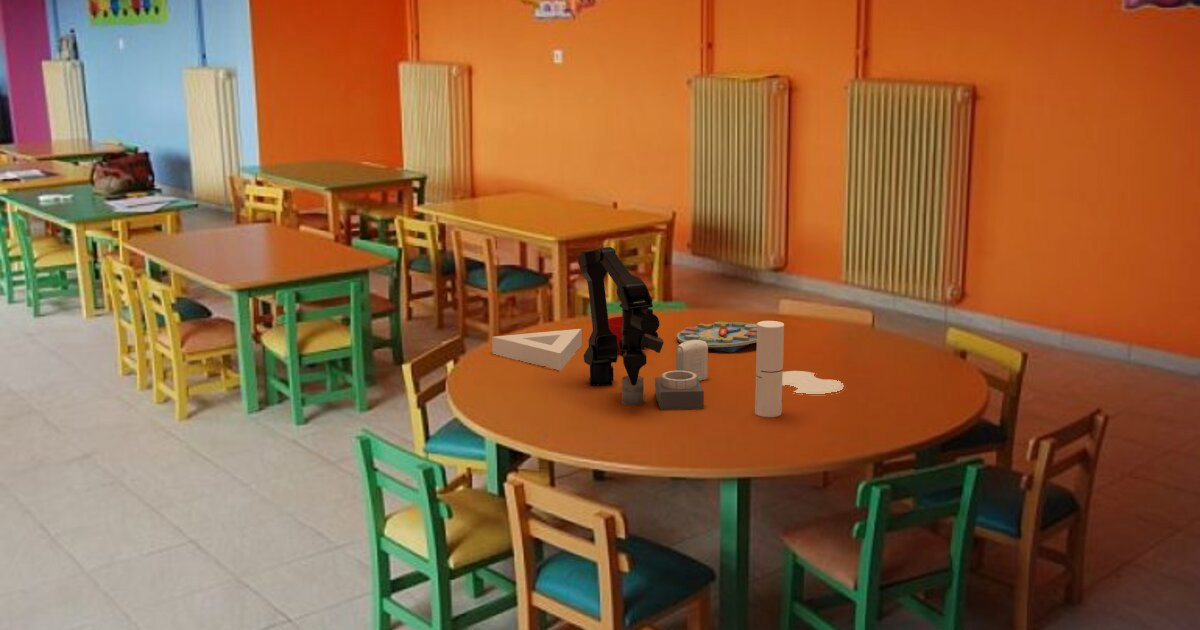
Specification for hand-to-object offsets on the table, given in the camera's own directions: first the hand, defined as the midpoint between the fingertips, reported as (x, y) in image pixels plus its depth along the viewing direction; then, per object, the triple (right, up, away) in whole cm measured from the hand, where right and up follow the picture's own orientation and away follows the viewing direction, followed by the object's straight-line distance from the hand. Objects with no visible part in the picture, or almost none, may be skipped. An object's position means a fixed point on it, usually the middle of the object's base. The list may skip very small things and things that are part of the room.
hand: (632, 380), depth 337 cm
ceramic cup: (+1, +6, +53) cm, 53 cm away
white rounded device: (+18, -1, +21) cm, 28 cm away
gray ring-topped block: (+13, -6, +2) cm, 14 cm away
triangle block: (-25, +3, +43) cm, 50 cm away
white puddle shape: (+51, -3, +18) cm, 54 cm away
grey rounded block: (0, -6, +2) cm, 7 cm away
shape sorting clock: (+32, +9, +63) cm, 71 cm away
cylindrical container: (+37, -9, -8) cm, 39 cm away
